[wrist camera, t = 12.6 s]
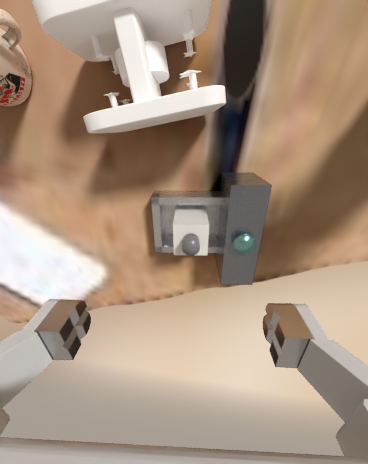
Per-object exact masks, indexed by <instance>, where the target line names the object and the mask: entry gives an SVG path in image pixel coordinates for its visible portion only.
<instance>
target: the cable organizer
mask: <svg viewBox="0 0 368 464" xmlns="http://www.w3.org/2000/svg"><path fill="white" fill-rule="evenodd" d="M211 2H212V0H32V5H33V8H34V10H35V13H36V16H37V18H38V21H39V24H40V26H41V29H42V30H43V32H44V33H46V34H47V35H49V36H50V37H52V38H53V39H55V40H56V41H58V42H59V43H61V44H62V45H64V46H65V47H67V48H68V49H70V50H71V51H73V52H74V53H75V54H77V55H78V56H80V57H81V58H83V59H84V60H87V61H91V62H100V61H108V60H112V64H113V68H114V71H111V72H114V73H115V75H116V74H120V76H121V79H122V82H123V85H124V86H126V87H130V91H131V95H132V99H133V102H134V103H130V104H129V102H131V101H130V100H132V99H125V100H122V101H120V102H122V103H123V104H124V105H121V106H118V103H117V100H116V96H118V95H117V94H119V93H112V92H110V93H109V94H105V95H106V96H108V97H109V99H110V102H111V106H112V108H108V109H104V110H99V111H96V112H92V113H90V114H87V115H85V116H84V117H83V120H84V122H85V125H86V128H87V131H88V133H118V132H127V131H132V130H137V129H141V128H146V127H151V126H156V125H160V124H165V123H170V122H174V121H179V120H184V119H189V118H193V117H198V116H202V115H206V114H209V113H212V112H214V111H216V110H217V109H219V108H220V107H222V106H223V105H224V104H226V97H225V87H224V86H222V85H213V86H206V87H201V88H197V83H199V82H197V80H196V73H199V72H201V71H194V70H188V71H186V72H183V73H181V74H179V75H182V76H181V77H180V78H183V77H186V76H189V79H190V83H187V84H188V85H187V86H189V90H188V91H183V92H179V93H174V94H170V95H166V96H161V91H160V86H159V84H160V83H163V82H165V81H167V80H168V79H169V71H168V65H167V59H166V53H165V48H164V46H166V45H170V44H174V43H178V42H182V41H186V46H187V53H183V54H185V56H184V57H188V56H190V57H192V55H193V54H195V53H197V52H193V46H192V40H193V38H195V37H197V36H199V35H201V34H202V33H203V32H204V31H205V30H206V29H207V25H208V19H209V14H210V8H211Z"/></svg>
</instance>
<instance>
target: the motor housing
mask: <svg viewBox="0 0 368 464" xmlns="http://www.w3.org/2000/svg"><path fill="white" fill-rule="evenodd" d="M271 187H272V185H271V184H269V183H268V182H266V181H265V180H263V179H262V178H260V177H259V176H257V175H256V174H254V173H222V175H221V188H220V191H154V193H153V195H152V196H151V204H152V216H153V228H154V240H155V252H156V253H174V245H173V221H174V215H175V209H176V207H206V212H207V217H208V221H209V239H208V253H215V259H216V263H217V268H218V273H219V278H220V283H221V284H243V285H252V282H253V277H254V272H255V267H256V262H257V257H258V252H259V247H260V242H261V237H262V232H263V227H264V222H265V217H266V212H267V207H268V202H269V197H270V192H271Z"/></svg>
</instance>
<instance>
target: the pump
mask: <svg viewBox="0 0 368 464" xmlns="http://www.w3.org/2000/svg"><path fill="white" fill-rule="evenodd" d="M208 239H209V221H208V217H207V212H206V207H176V209H175V215H174V221H173V245H174V255H189V256H193V255H205V256H207V255H208Z"/></svg>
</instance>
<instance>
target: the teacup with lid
mask: <svg viewBox="0 0 368 464" xmlns="http://www.w3.org/2000/svg"><path fill="white" fill-rule="evenodd" d="M0 24H2V25H6V26H8V27H9V29H8V30H7V32H5V31H4V30H2V29H1V28H0V106H17V105H19V104H21V103H23V102H24V101H25V100H26V99H27V98H28V96H29V94H30V91H31V86H32V76H31V70H30V66H29V63H28V61H27V59H26V57H25V55H24V53H23V51H22V49H21V48H20V47H19V45H18V43H19V42H20V40H21V31H20V28H19V26H18V25H17V23H16V21H15V20H14V19H13V17H12V16H11V15H10V14H8V13H7V12H6V11H4V10H2V9H0Z"/></svg>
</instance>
